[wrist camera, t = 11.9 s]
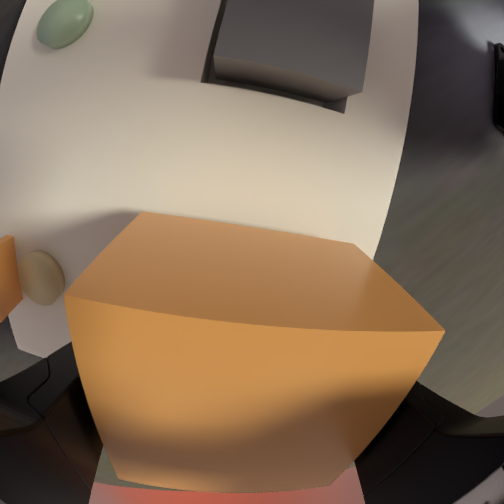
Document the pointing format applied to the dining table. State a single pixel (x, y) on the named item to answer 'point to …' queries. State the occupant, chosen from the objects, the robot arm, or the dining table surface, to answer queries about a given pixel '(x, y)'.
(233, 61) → the block
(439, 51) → the dining table surface
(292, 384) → the orange square block
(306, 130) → the panel
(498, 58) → the robot arm
